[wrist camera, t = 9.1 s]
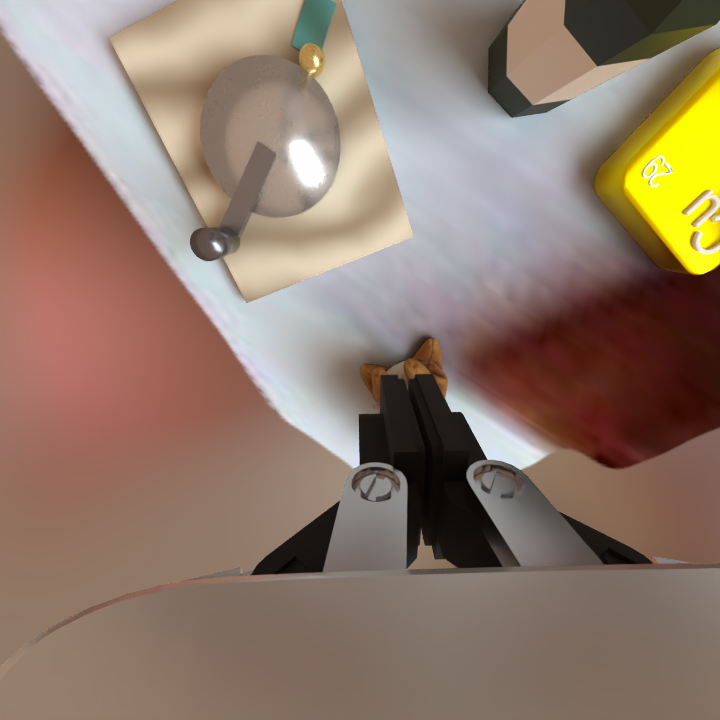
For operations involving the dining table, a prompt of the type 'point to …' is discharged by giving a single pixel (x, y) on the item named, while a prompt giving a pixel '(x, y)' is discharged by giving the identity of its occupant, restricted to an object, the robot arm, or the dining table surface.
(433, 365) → the stuffed squirrel
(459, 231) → the dining table surface
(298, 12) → the stand board
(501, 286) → the dining table surface
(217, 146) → the silver rounded piece
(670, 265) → the element tile
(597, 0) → the wine bottle
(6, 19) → the dining table surface
